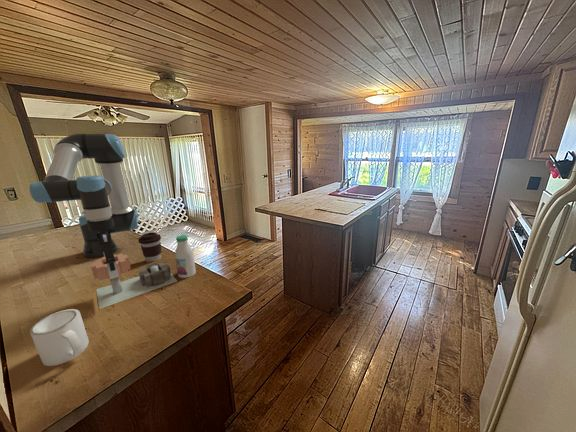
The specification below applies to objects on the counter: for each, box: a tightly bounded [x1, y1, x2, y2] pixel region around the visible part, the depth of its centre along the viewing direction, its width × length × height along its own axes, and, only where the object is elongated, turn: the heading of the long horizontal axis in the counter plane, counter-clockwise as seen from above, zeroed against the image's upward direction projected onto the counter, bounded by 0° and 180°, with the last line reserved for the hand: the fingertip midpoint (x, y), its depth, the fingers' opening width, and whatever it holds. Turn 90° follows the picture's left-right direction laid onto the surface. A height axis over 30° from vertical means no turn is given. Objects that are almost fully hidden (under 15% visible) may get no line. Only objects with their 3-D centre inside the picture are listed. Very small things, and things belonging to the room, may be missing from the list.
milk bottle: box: [174, 234, 197, 279], centre depth 104 cm, size 8×8×20 cm
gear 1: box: [90, 253, 131, 281], centre depth 89 cm, size 11×11×5 cm
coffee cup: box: [137, 231, 162, 263], centre depth 119 cm, size 10×10×15 cm
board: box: [96, 266, 178, 310], centre depth 97 cm, size 16×27×8 cm, turn 132°
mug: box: [29, 308, 90, 367], centre depth 66 cm, size 14×10×11 cm
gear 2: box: [138, 261, 172, 287], centre depth 101 cm, size 11×11×5 cm
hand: (112, 271), depth 90 cm, fingers closed on gear 1, 11 cm apart
